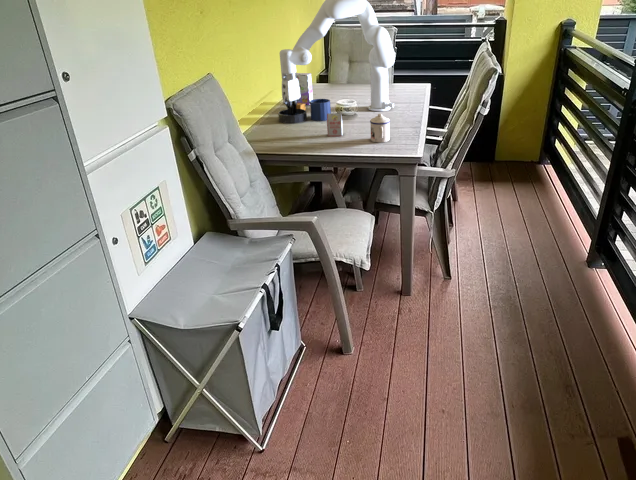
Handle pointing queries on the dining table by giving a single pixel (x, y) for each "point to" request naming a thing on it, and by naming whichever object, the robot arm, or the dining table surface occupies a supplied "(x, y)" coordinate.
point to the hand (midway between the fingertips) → (292, 113)
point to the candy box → (305, 88)
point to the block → (301, 106)
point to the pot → (320, 109)
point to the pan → (292, 116)
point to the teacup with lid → (380, 129)
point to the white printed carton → (334, 125)
